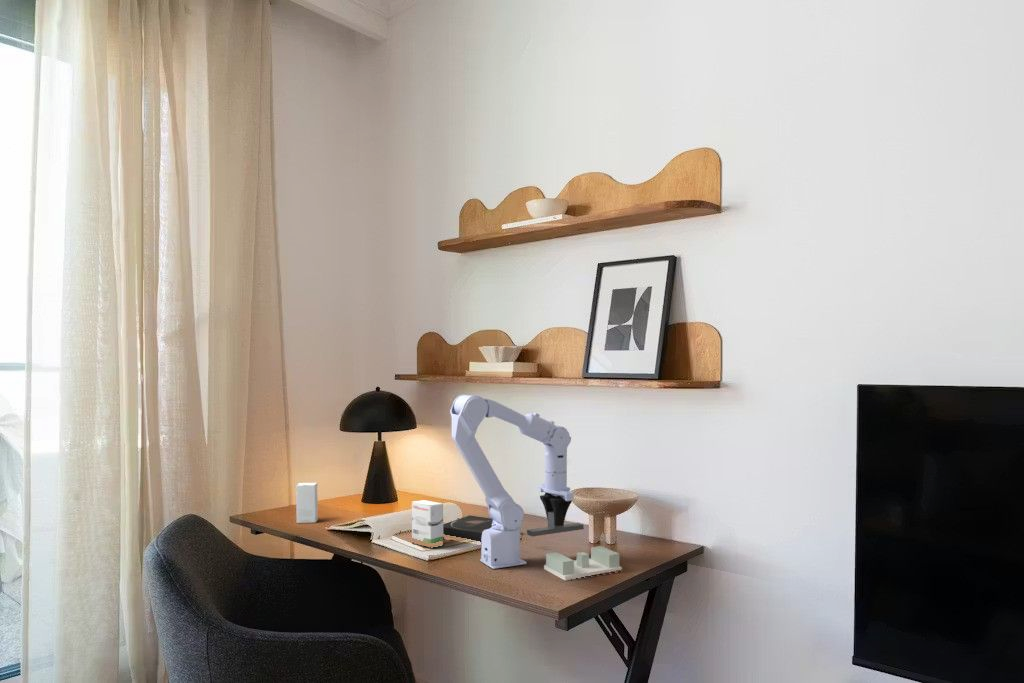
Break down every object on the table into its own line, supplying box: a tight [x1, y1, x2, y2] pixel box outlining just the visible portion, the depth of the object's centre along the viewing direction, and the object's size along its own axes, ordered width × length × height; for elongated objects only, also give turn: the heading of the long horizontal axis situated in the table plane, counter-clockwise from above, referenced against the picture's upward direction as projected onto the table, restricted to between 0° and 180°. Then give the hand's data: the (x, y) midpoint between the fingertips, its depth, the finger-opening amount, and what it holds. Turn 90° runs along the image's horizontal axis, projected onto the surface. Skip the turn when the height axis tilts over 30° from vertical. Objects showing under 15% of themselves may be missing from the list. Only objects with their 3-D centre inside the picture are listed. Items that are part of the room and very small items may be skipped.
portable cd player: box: [443, 515, 493, 542], centre depth 200 cm, size 16×17×4 cm
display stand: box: [543, 545, 623, 582], centre depth 167 cm, size 16×10×4 cm, turn 117°
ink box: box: [411, 499, 445, 543], centre depth 191 cm, size 9×5×12 cm, turn 47°
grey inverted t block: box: [526, 511, 585, 537], centre depth 179 cm, size 16×3×5 cm, turn 120°
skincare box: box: [295, 482, 319, 524], centre depth 218 cm, size 6×4×12 cm
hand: (555, 524), depth 179 cm, fingers closed on grey inverted t block, 3 cm apart
